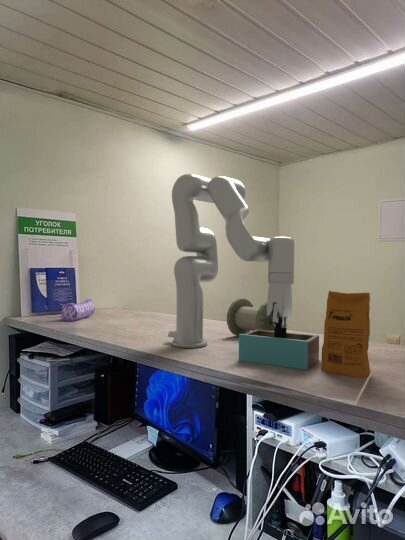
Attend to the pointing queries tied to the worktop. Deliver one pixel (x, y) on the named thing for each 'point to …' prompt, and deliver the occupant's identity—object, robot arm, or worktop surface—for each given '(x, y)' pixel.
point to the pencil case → (77, 310)
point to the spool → (248, 317)
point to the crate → (313, 339)
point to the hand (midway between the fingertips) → (280, 340)
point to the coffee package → (346, 334)
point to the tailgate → (274, 351)
